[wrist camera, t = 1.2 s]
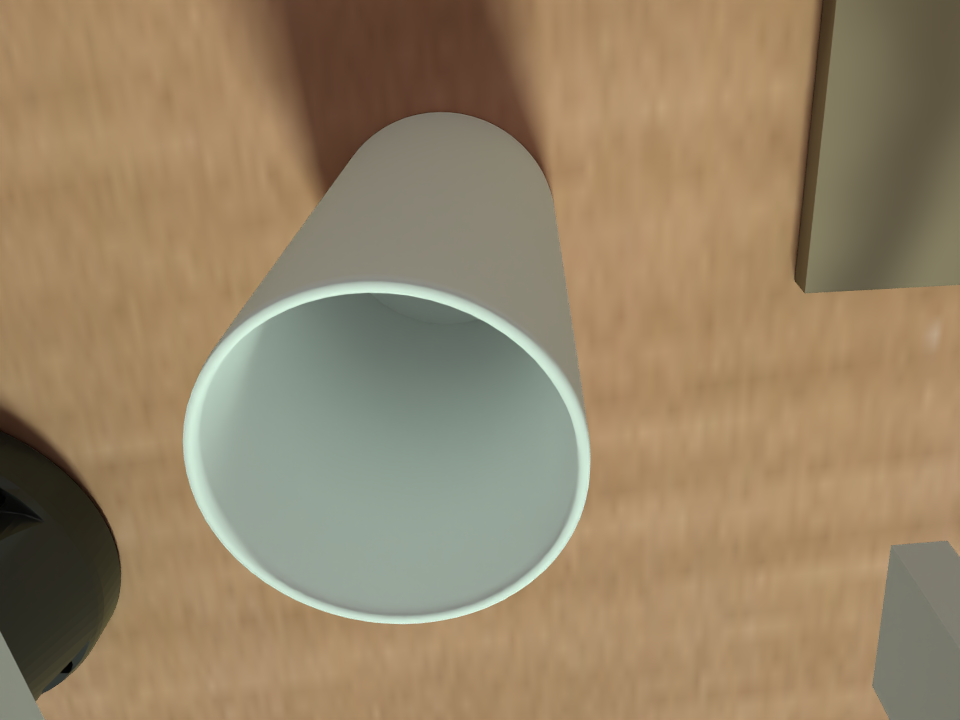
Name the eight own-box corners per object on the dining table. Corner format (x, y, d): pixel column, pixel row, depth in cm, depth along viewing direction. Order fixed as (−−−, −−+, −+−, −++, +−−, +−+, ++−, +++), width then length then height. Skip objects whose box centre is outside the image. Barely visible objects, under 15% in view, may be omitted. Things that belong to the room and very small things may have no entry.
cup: (346, 327, 33) (219, 626, 19) (321, 114, 29) (139, 284, 15) (554, 324, 33) (587, 625, 18) (556, 108, 29) (598, 276, 15)
